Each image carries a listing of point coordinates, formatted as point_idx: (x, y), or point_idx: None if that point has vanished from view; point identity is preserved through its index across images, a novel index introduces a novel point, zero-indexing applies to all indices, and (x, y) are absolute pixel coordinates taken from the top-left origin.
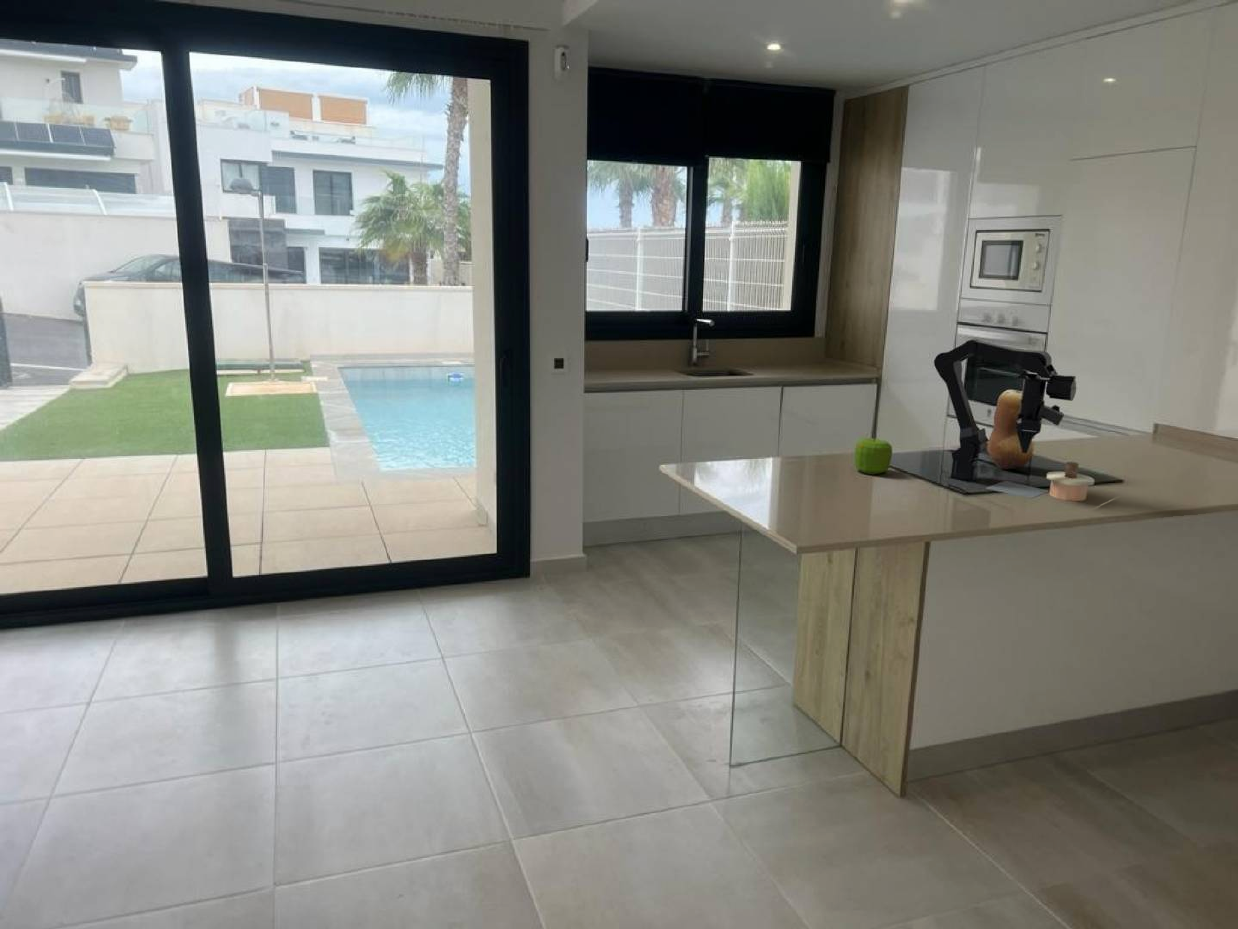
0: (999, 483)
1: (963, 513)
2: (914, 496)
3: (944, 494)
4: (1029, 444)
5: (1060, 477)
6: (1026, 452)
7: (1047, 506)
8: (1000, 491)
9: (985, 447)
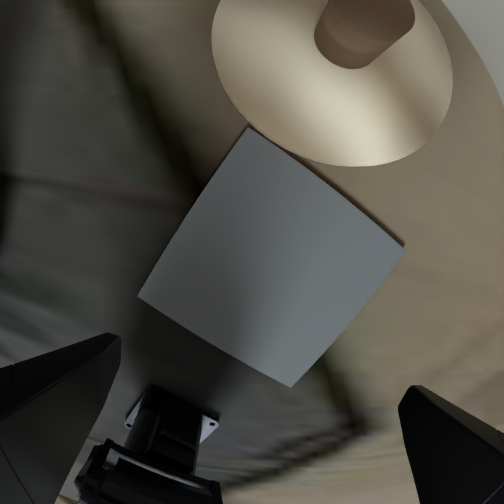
0: (191, 328)
1: (496, 412)
2: (388, 490)
3: (369, 461)
4: (483, 425)
5: (384, 104)
6: (422, 389)
7: (464, 207)
8: (328, 345)
9: (136, 486)
